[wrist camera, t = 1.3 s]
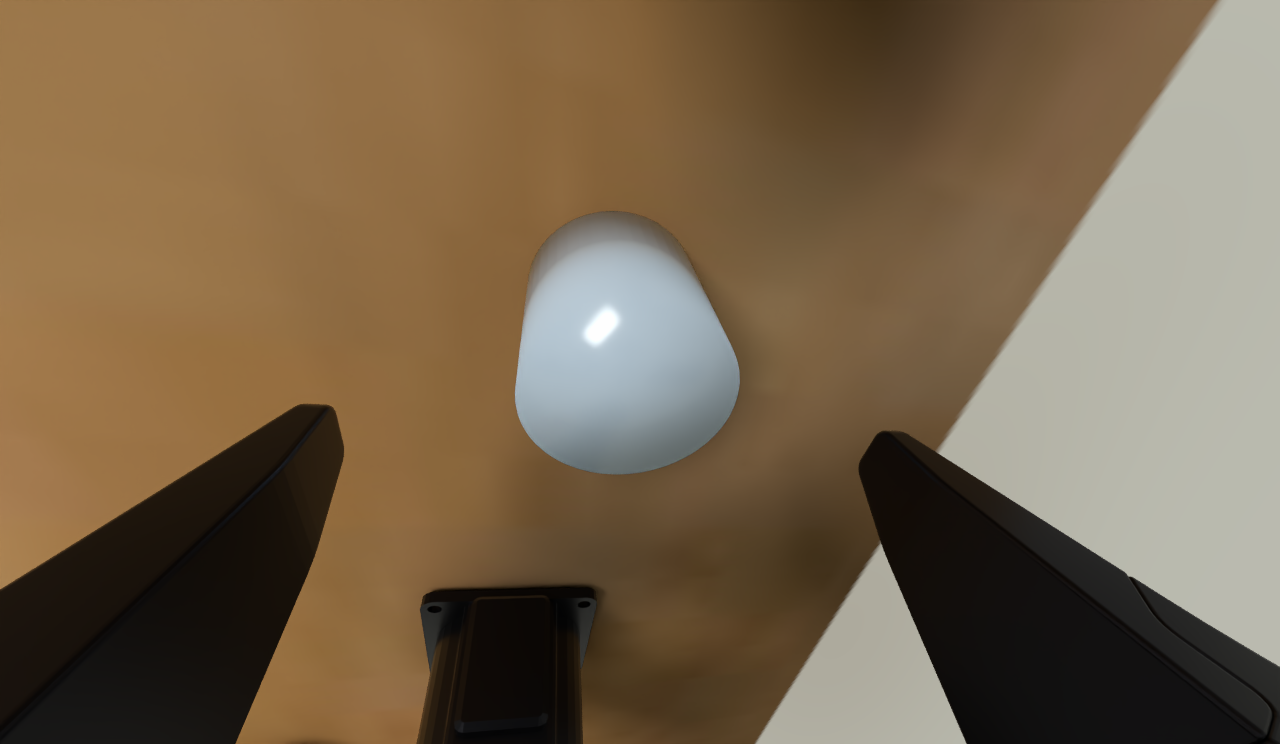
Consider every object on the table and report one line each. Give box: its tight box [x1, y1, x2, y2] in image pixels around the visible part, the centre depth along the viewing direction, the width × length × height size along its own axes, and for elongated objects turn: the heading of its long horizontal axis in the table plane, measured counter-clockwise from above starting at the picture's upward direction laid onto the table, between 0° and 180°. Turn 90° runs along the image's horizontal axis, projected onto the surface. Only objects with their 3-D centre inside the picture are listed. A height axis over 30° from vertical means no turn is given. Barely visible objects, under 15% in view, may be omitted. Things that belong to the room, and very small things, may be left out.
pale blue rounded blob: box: [515, 211, 740, 474], centre depth 10 cm, size 4×4×4 cm
